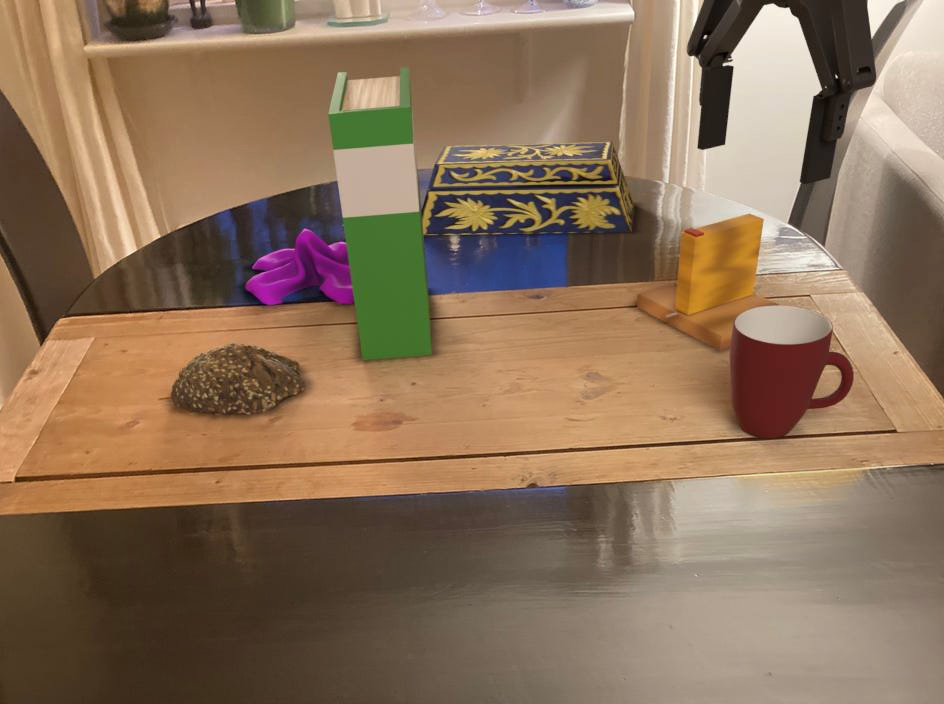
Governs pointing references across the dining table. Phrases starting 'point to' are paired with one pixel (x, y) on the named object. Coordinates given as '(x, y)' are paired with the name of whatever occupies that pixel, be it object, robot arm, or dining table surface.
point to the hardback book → (382, 213)
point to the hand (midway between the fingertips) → (760, 163)
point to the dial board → (699, 314)
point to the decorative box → (527, 190)
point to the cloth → (304, 271)
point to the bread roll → (236, 381)
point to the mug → (781, 367)
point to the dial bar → (718, 263)
